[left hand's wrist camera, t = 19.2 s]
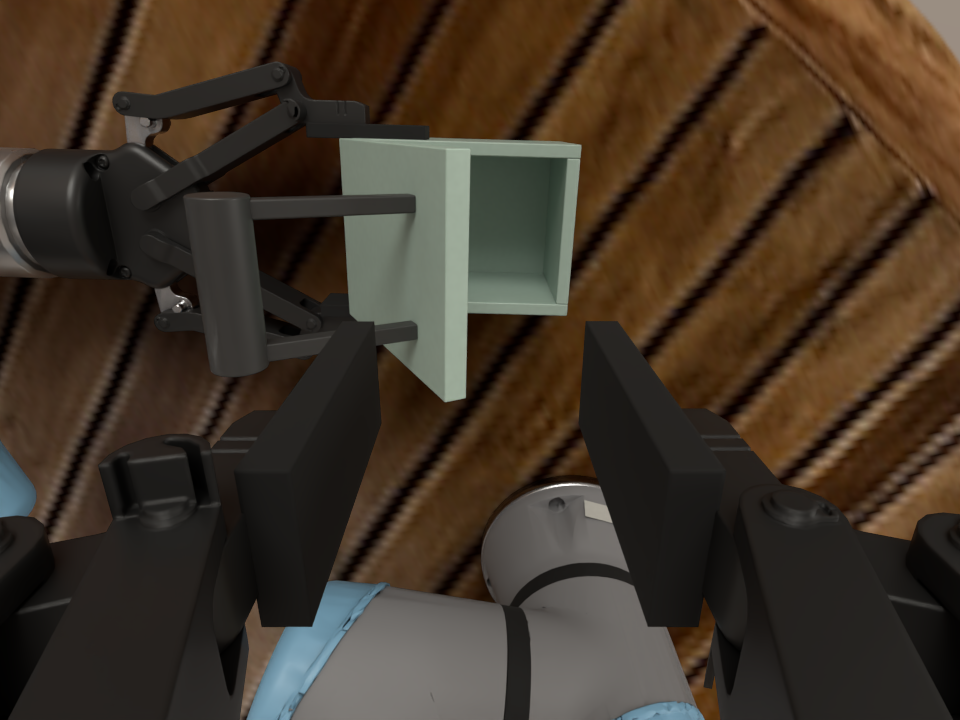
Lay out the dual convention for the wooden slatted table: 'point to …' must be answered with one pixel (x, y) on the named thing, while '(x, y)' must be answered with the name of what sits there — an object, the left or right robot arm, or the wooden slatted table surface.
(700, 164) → the wooden slatted table surface
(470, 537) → the wooden slatted table surface
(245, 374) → the lid
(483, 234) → the chest
